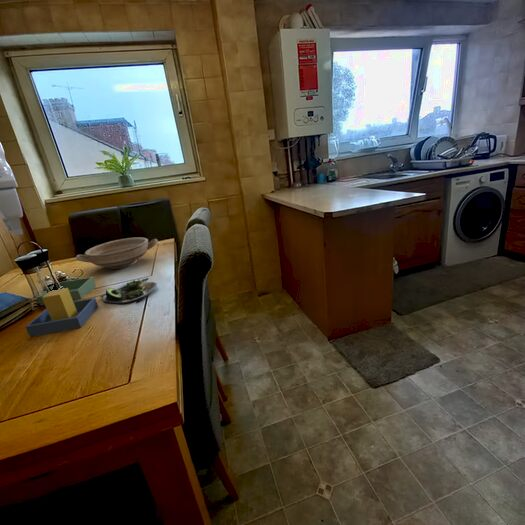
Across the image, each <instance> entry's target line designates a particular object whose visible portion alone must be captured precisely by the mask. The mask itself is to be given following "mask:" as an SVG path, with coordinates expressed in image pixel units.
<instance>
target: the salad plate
mask: <svg viewBox="0 0 525 525" xmlns="http://www.w3.org/2000/svg"><path fill="white" fill-rule="evenodd" d="M148 280H149V278H148V277H146V278H142V279H140V278H137V280H133V281H130V282H126V284H123V285H121V286H120V287H117V288H112V287H111V288H107V289H106V290H105V293H104V294H101V295H100V296H99V298H101V299H102V302H103V303H104V304H108V305H119V306H122V305H124V306H125V305H130V304H133V303H135V304H137V303H139V302H141V301H143V300H144V299H145V298H147V297H148V296H150V295H151V293H153V292H154V290H155V289H157V287H158V283H157V282H156V281H150V282H149V281H148Z"/></svg>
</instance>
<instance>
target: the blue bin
mask: <svg viewBox="0 0 525 525" xmlns="http://www.w3.org/2000/svg"><path fill="white" fill-rule="evenodd" d="M73 302H74V305H75V307H76V310H77V312H78V315H77V316H76V317H73V318H68V319H62V320H56V321H52V320H51V318H50V315H49V313H48V311H47V308H46V309H44V310H42V312H41V313H40V314H38V315H37V316H36V317H35V318H34V319H32V320H31V321H29V323H28V324H26V326H25V330H26V331H27V334H28V336H29V337H30V338H33V337H39V336H44V335H50V334H54V333H61V332H65V331H71V330H77V329H82V328H83V326H84V325H85V324H86V323H87V322H88V320H89V319H90V318H91V317H92V316H93V314H94V313H95V312H96V311H97V310H98V308H99V305H98V301H97V300H96V297H91V298H84V299H78V300H73Z"/></svg>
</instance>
